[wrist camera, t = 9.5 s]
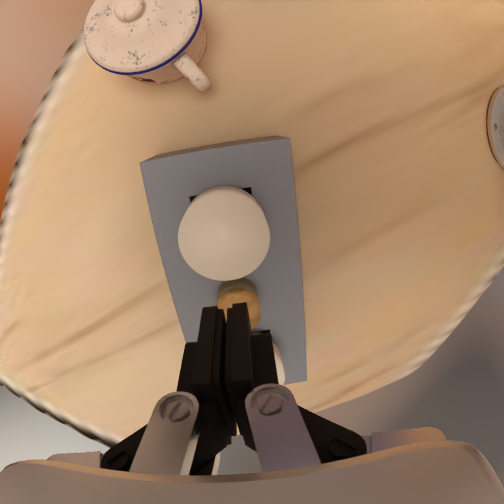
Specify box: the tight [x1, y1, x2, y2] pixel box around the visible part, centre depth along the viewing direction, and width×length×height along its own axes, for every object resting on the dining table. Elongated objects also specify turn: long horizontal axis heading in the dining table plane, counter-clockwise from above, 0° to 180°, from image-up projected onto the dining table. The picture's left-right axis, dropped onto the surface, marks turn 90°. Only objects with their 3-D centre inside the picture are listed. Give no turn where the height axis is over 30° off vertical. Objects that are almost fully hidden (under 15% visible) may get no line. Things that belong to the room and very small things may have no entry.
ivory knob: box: [178, 186, 270, 281], centre depth 26 cm, size 6×6×9 cm
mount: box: [140, 136, 307, 385], centre depth 31 cm, size 12×26×6 cm, turn 7°
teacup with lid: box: [84, 0, 211, 92], centre depth 19 cm, size 12×9×12 cm
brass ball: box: [217, 277, 261, 329], centre depth 27 cm, size 4×4×4 cm
